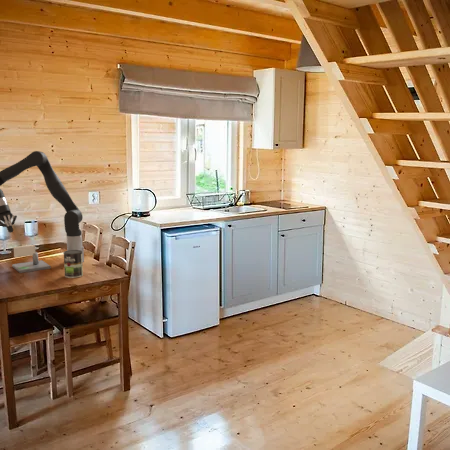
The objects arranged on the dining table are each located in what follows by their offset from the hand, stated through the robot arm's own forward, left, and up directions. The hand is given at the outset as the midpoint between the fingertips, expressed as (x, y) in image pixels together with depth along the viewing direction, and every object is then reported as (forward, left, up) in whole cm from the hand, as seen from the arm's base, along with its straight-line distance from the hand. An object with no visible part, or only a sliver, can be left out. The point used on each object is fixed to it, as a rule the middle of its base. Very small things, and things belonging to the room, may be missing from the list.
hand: (11, 232), depth 316 cm
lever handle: (-5, +13, -19) cm, 23 cm away
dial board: (-7, +14, -20) cm, 26 cm away
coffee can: (-22, +47, -21) cm, 56 cm away
